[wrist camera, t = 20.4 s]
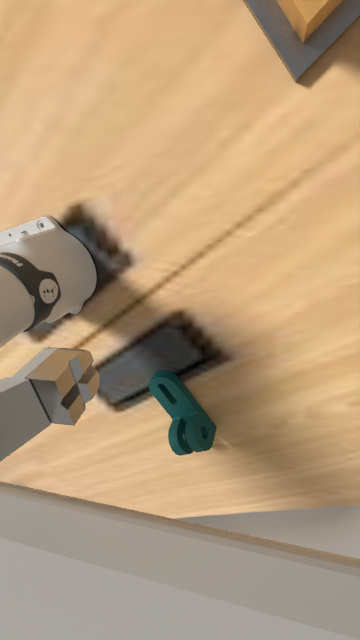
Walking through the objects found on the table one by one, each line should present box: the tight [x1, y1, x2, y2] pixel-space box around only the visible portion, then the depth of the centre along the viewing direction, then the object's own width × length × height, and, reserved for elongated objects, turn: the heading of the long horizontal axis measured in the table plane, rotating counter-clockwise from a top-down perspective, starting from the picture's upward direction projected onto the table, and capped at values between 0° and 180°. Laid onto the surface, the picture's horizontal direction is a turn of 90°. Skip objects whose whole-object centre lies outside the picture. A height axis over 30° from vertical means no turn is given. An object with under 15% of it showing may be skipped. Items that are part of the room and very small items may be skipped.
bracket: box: [149, 370, 216, 455], centre depth 58 cm, size 18×7×8 cm, turn 36°
